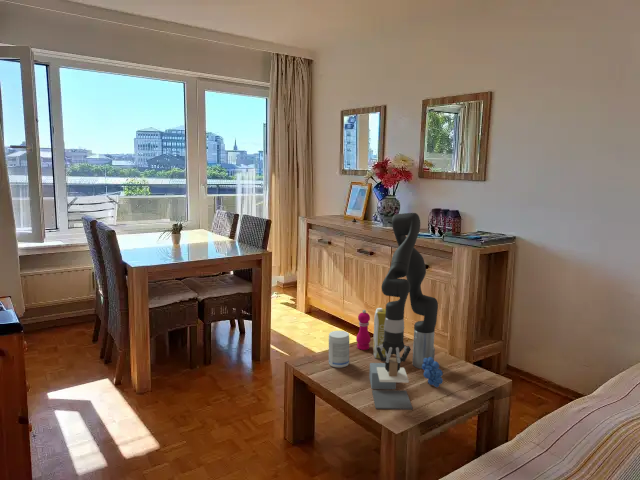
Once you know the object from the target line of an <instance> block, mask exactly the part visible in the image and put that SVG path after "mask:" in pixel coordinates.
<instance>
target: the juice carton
mask: <svg viewBox="0 0 640 480" xmlns="http://www.w3.org/2000/svg"><path fill="white" fill-rule="evenodd" d="M385 315H386V308H383V307H376V309H375V311H374V319H373V320H374V321H373V343H372V344H373V345H372V346H373V347H372V350H373V357H374V359H377V360H378V359H380V360H381V358H380V356H379V354H378V351H377V348H376V346H377V345H378V346H380V345H382V343H383V342H384V324H385ZM381 352H382V354H383V357H386V350H385V349H384V348H382V351H381Z"/></svg>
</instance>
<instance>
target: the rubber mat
mask: <svg viewBox="0 0 640 480" xmlns="http://www.w3.org/2000/svg"><path fill="white" fill-rule="evenodd" d="M371 392H372V398H373V402H374V407H375V410H406V411H407V410H412V411H413V406H412V403H411V400H410V397H409V394H408V391H407V390H405V389H403V390H397V389H372V390H371Z"/></svg>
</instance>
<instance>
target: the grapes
mask: <svg viewBox="0 0 640 480" xmlns="http://www.w3.org/2000/svg"><path fill="white" fill-rule="evenodd" d="M423 362H424V363H423V364H422V369H421V370H423V377H424V378H425V379H427V384H429V385H431V386H434V387H435V388H439V386H440V385H442V384H443V381H444V379H443V378H442V377H443V371H442V369H440V363H439V362H438V361H436V360H435V358H434V359H433V358H432V357H429V358H424V360H423Z"/></svg>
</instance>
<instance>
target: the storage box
mask: <svg viewBox="0 0 640 480" xmlns="http://www.w3.org/2000/svg"><path fill="white" fill-rule="evenodd" d="M377 367H385V362H369V383H370V388H371V389H372V390H397V382H380V381H379V377H378V373H377Z"/></svg>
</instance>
